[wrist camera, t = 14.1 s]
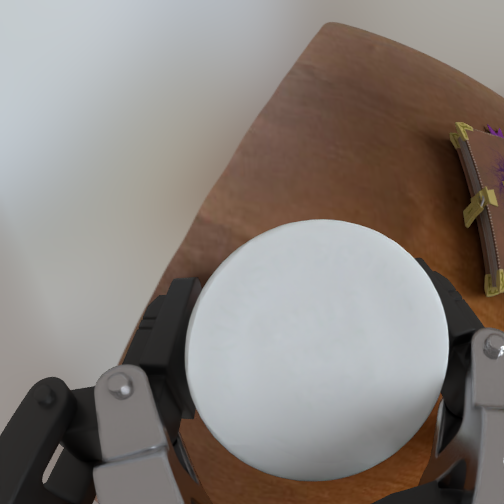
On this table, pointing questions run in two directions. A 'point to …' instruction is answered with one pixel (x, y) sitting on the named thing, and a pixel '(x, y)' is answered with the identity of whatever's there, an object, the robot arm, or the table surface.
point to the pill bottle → (316, 350)
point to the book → (485, 196)
